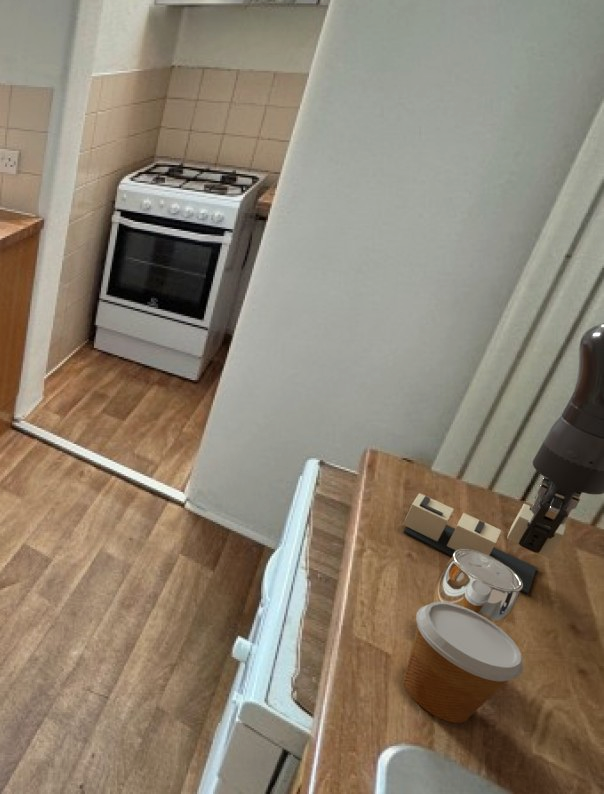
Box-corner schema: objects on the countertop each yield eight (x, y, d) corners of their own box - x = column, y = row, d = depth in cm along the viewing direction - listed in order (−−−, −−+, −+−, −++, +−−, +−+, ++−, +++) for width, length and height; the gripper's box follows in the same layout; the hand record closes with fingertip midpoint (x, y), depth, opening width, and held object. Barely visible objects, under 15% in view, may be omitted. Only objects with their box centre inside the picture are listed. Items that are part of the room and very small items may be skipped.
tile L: (444, 529, 104) (454, 507, 102) (437, 541, 101) (448, 519, 99) (409, 513, 107) (419, 491, 105) (402, 524, 104) (412, 502, 103)
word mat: (536, 569, 97) (537, 567, 96) (527, 595, 92) (528, 593, 92) (416, 512, 108) (416, 510, 108) (403, 532, 103) (404, 530, 103)
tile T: (553, 544, 93) (567, 520, 91) (549, 558, 90) (564, 534, 89) (511, 525, 96) (525, 501, 95) (506, 538, 94) (520, 514, 92)
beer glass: (406, 644, 84) (447, 565, 79) (416, 615, 89) (455, 539, 83) (474, 683, 79) (523, 602, 74) (481, 650, 84) (527, 572, 78)
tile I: (490, 551, 99) (502, 528, 98) (484, 564, 97) (496, 541, 95) (453, 533, 103) (464, 511, 101) (446, 546, 100) (457, 523, 98)
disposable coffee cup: (369, 659, 82) (400, 596, 78) (440, 662, 82) (475, 600, 78) (428, 735, 73) (467, 669, 69) (508, 739, 73) (552, 674, 69)
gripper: (618, 488, 80) (560, 580, 87) (625, 447, 88) (572, 534, 95) (537, 457, 86) (488, 546, 92) (551, 421, 94) (505, 505, 100)
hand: (531, 539), depth 93 cm, fingers closed on tile T, 4 cm apart
